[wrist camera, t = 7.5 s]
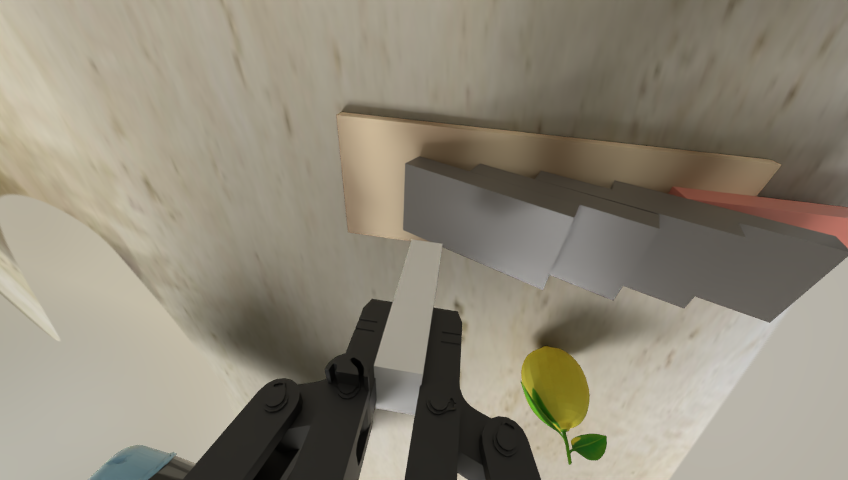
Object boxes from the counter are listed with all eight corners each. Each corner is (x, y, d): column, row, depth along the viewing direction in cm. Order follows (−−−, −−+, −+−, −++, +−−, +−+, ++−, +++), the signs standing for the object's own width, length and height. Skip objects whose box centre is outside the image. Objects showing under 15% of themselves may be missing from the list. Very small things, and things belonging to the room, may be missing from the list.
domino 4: (643, 264, 20) (804, 286, 19) (687, 198, 17) (878, 221, 16) (633, 249, 21) (783, 270, 21) (672, 186, 18) (849, 207, 18)
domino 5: (580, 255, 20) (769, 322, 17) (612, 189, 18) (852, 252, 14) (583, 244, 22) (761, 304, 18) (614, 180, 19) (835, 236, 15)
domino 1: (402, 230, 21) (542, 290, 18) (404, 163, 19) (574, 217, 15) (415, 220, 23) (549, 274, 19) (419, 156, 20) (579, 204, 16)
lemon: (583, 363, 31) (621, 483, 23) (525, 369, 33) (540, 480, 25) (575, 321, 28) (615, 444, 20) (510, 330, 30) (523, 445, 22)
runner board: (351, 226, 25) (348, 232, 24) (340, 112, 19) (336, 114, 19) (682, 273, 23) (687, 280, 22) (770, 159, 18) (782, 164, 17)
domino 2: (458, 237, 21) (613, 300, 17) (469, 171, 18) (659, 228, 14) (467, 227, 22) (615, 284, 18) (480, 163, 19) (659, 215, 15)
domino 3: (514, 245, 21) (684, 308, 17) (534, 179, 18) (745, 237, 14) (520, 234, 22) (681, 291, 18) (540, 170, 19) (738, 222, 15)
